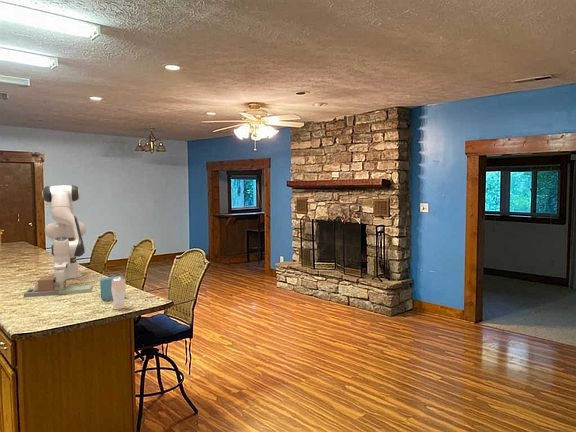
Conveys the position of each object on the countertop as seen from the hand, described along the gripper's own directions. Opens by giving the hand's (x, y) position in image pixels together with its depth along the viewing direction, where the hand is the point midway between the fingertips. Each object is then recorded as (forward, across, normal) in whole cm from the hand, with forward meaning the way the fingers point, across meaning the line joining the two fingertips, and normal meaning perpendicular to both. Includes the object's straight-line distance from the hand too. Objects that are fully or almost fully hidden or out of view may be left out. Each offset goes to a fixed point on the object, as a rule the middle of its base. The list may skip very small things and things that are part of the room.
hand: (63, 287), depth 269 cm
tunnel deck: (+3, 0, -2) cm, 4 cm away
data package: (+3, +29, +30) cm, 41 cm away
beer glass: (+3, +51, +34) cm, 61 cm away
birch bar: (+1, 0, -6) cm, 7 cm away
